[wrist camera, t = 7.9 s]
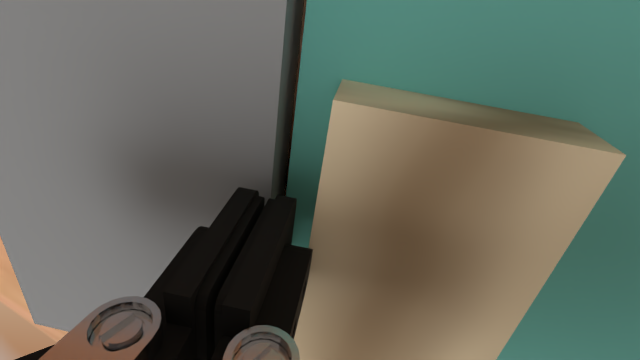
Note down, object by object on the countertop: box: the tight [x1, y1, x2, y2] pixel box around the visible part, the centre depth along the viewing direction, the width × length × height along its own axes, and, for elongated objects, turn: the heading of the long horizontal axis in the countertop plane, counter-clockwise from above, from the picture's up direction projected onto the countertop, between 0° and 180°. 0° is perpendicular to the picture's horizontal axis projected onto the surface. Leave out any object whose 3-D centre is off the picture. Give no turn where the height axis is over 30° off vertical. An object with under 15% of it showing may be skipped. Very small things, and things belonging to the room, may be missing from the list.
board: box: [0, 0, 304, 332], centre depth 12 cm, size 10×18×2 cm, turn 172°
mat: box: [286, 0, 640, 360], centre depth 11 cm, size 13×18×1 cm
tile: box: [294, 79, 626, 360], centre depth 10 cm, size 6×9×2 cm, turn 172°
